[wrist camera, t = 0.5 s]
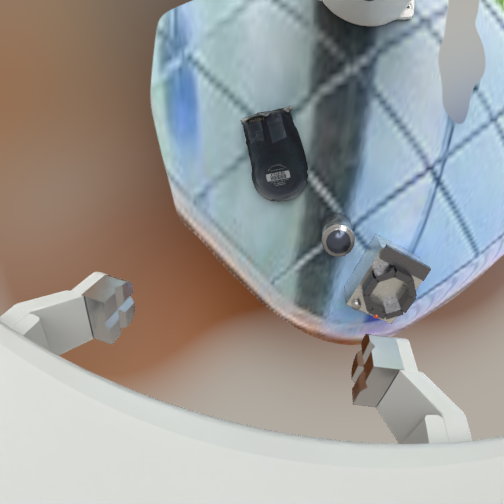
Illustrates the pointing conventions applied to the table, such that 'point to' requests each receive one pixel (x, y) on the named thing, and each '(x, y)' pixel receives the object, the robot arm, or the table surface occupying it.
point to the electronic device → (275, 154)
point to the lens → (337, 235)
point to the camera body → (385, 280)
